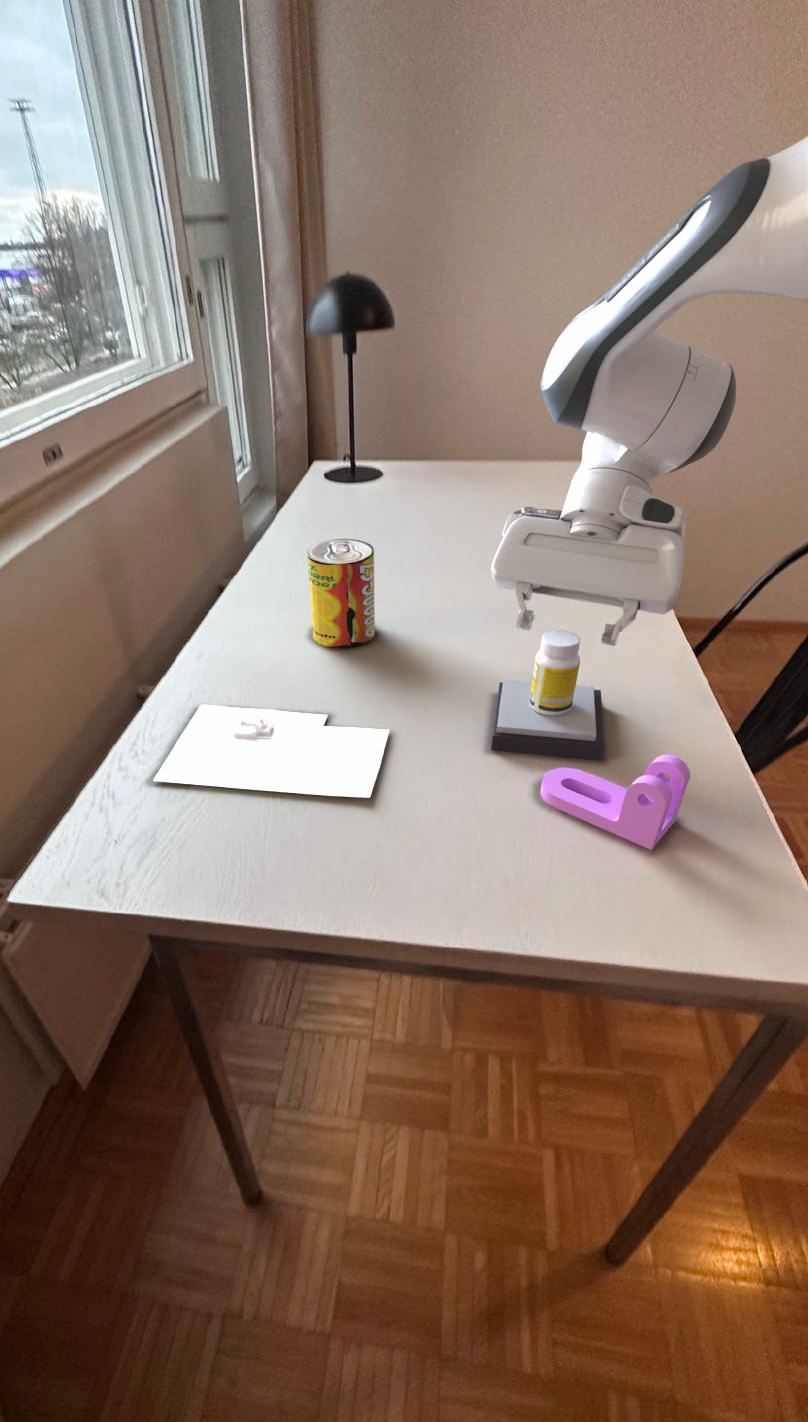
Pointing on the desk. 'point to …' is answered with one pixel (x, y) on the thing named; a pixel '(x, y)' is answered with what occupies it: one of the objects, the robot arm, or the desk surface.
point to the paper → (275, 753)
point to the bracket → (622, 799)
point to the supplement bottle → (555, 673)
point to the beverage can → (342, 592)
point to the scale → (548, 724)
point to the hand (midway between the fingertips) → (564, 635)
